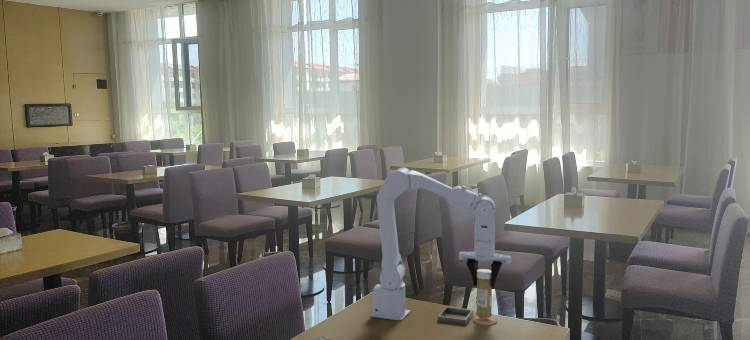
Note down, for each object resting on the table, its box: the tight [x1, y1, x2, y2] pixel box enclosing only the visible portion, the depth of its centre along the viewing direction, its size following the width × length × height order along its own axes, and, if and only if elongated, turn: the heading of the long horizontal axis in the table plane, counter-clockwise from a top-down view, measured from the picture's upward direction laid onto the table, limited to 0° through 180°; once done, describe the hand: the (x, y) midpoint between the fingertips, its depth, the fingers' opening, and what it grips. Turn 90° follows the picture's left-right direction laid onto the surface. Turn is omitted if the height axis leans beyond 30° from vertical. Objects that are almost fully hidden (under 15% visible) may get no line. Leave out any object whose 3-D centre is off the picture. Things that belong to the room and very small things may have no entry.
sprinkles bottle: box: [475, 268, 493, 318], centre depth 165 cm, size 5×5×14 cm
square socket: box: [437, 306, 474, 326], centre depth 169 cm, size 8×8×2 cm
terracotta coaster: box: [472, 314, 498, 326], centre depth 166 cm, size 7×7×1 cm
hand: (484, 285), depth 165 cm, fingers closed on sprinkles bottle, 4 cm apart
